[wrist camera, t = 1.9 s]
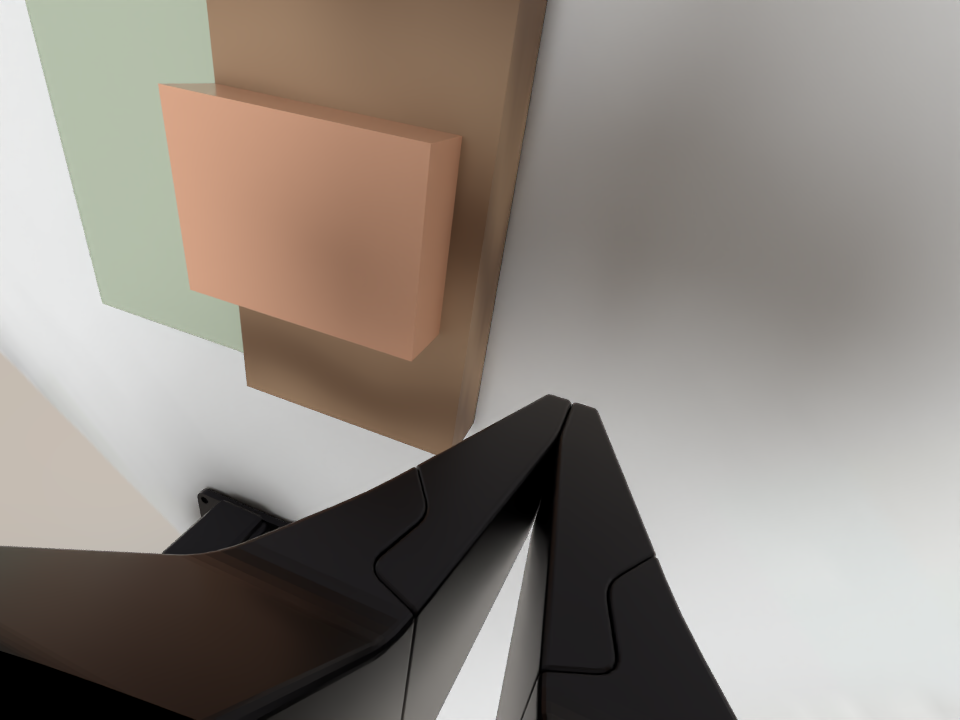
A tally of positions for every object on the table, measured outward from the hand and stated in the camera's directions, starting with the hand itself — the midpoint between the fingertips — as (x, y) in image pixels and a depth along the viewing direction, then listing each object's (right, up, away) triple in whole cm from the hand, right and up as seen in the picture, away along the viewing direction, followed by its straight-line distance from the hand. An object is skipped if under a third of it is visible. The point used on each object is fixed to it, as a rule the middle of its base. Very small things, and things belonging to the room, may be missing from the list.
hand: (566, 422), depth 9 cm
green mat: (-14, +9, +12) cm, 20 cm away
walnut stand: (-5, +7, +9) cm, 12 cm away
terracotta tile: (-6, +6, +7) cm, 11 cm away
